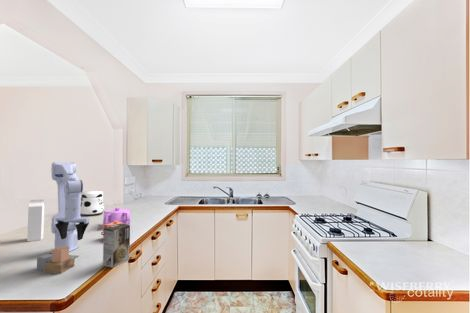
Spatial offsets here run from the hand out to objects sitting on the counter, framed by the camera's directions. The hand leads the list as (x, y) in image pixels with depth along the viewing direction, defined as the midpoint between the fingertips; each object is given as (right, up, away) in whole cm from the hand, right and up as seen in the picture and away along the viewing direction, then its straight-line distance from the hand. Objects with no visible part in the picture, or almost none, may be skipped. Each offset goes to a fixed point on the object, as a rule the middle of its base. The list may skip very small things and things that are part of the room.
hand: (71, 239), depth 106 cm
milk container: (-45, -11, +91) cm, 102 cm away
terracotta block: (-1, -7, -6) cm, 9 cm away
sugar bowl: (+2, -11, +33) cm, 35 cm away
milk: (-40, -10, +29) cm, 50 cm away
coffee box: (+19, -11, +1) cm, 22 cm away
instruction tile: (-5, -10, +3) cm, 12 cm away
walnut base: (-1, -10, -6) cm, 12 cm away
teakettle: (-9, -11, +60) cm, 62 cm away
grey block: (-7, -10, -5) cm, 14 cm away
